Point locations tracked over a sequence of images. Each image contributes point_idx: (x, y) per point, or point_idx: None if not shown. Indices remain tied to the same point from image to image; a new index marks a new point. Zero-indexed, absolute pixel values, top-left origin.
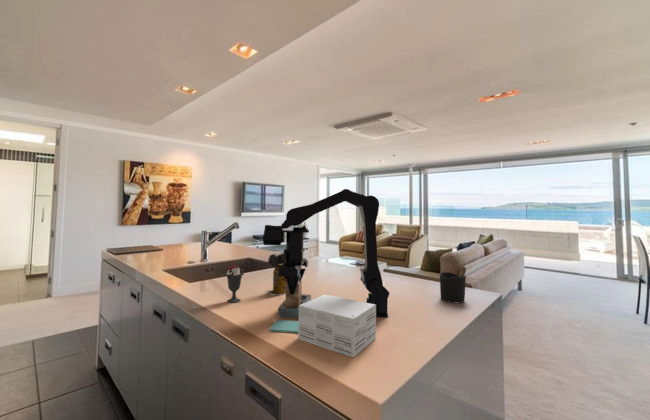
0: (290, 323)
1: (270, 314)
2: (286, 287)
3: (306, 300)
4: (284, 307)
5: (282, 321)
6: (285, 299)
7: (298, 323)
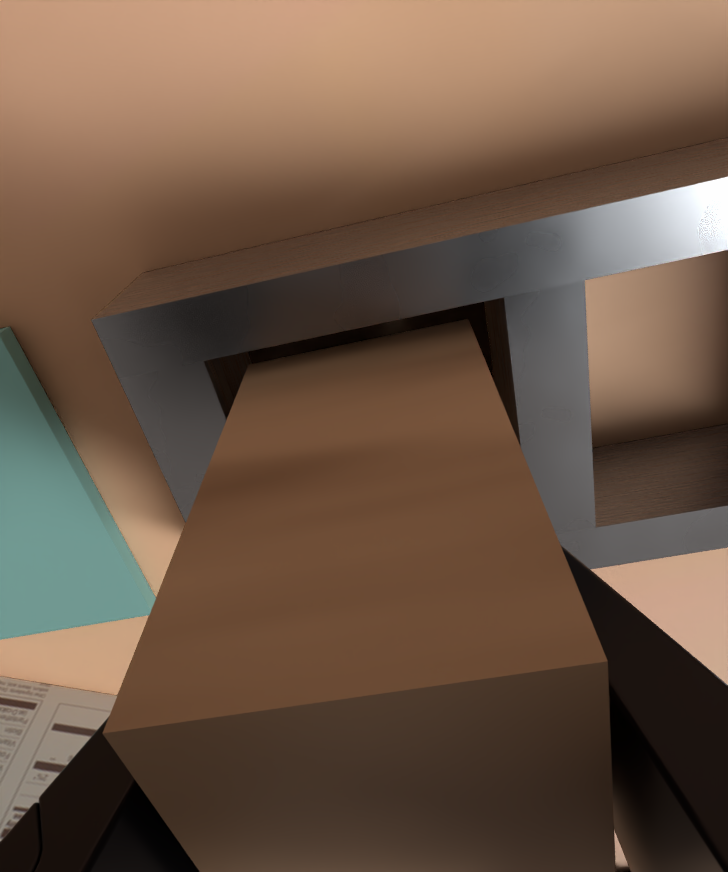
0: (23, 520)
1: (175, 92)
2: (153, 636)
3: (608, 549)
4: (163, 403)
5: (8, 426)
6: (221, 434)
7: (75, 582)
